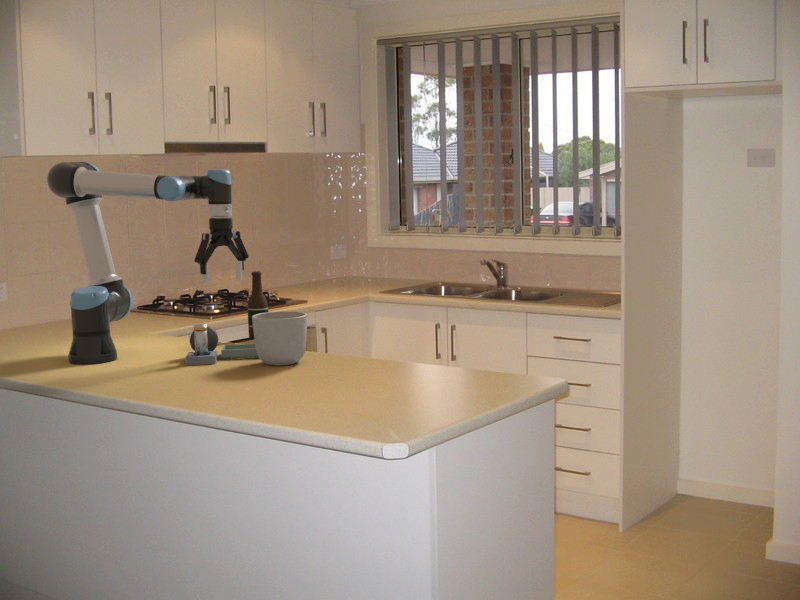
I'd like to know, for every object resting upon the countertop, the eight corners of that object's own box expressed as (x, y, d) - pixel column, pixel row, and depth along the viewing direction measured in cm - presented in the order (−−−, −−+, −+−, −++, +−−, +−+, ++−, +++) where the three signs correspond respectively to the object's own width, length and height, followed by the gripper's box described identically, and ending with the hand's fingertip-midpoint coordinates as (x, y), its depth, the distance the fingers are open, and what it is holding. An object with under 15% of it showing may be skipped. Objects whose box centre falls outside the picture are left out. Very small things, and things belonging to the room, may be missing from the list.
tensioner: (186, 365, 316) (184, 333, 314) (191, 355, 332) (190, 325, 331) (215, 363, 317) (213, 332, 315) (219, 354, 333) (218, 324, 332)
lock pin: (194, 363, 318) (192, 325, 317) (196, 360, 323) (194, 323, 321) (208, 362, 319) (206, 325, 317) (209, 360, 323) (207, 323, 321)
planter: (319, 362, 316) (318, 313, 314) (278, 370, 303) (276, 320, 301) (284, 356, 327) (282, 309, 325) (242, 364, 315) (240, 316, 313)
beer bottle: (265, 339, 360) (263, 272, 357) (245, 339, 362) (242, 272, 358) (272, 336, 368) (270, 270, 364) (252, 335, 369) (249, 270, 366)
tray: (221, 359, 324) (221, 350, 324) (224, 353, 334) (223, 344, 334) (266, 357, 325) (265, 348, 325) (267, 352, 335) (267, 343, 335)
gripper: (196, 219, 316) (198, 286, 319) (257, 215, 335) (259, 279, 337) (181, 218, 321) (184, 285, 324) (243, 215, 340) (245, 278, 342)
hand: (222, 282), depth 331 cm, fingers open, 13 cm apart
